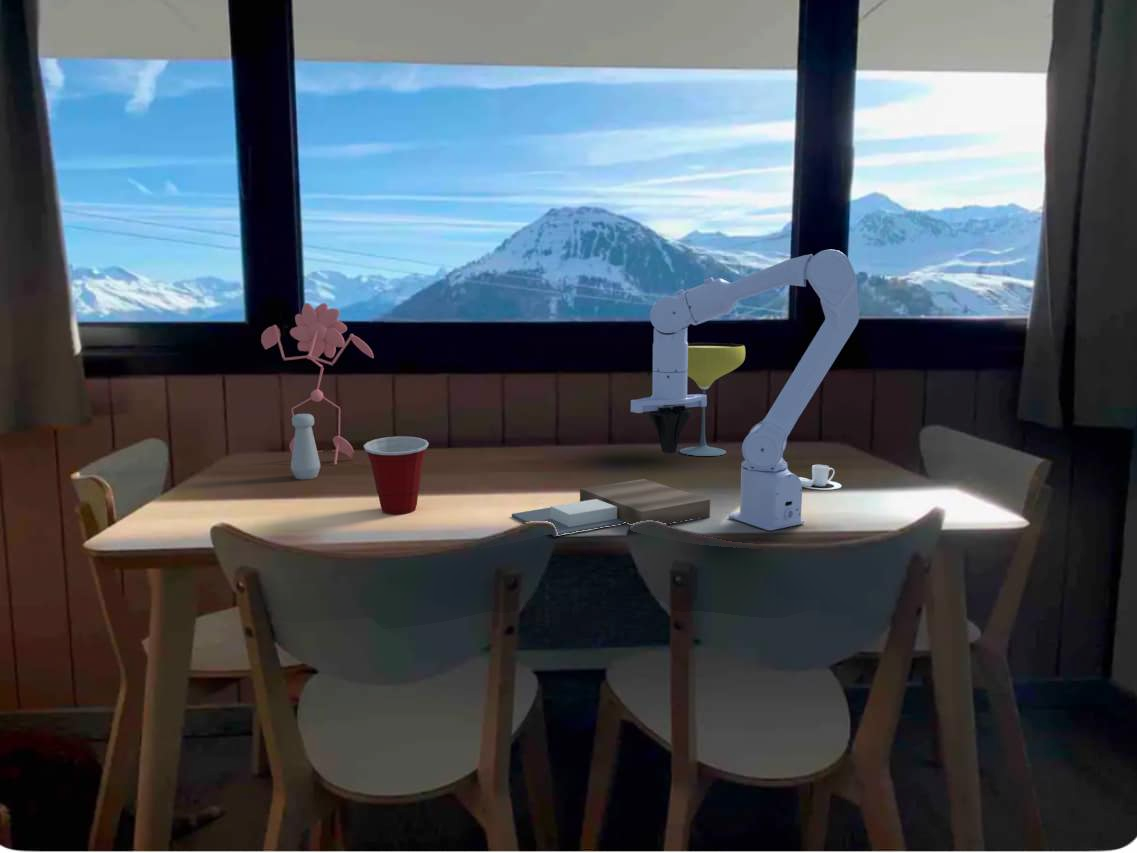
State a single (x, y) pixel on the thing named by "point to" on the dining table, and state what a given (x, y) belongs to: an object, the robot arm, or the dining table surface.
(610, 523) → the mat
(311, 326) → the figurine
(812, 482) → the teacup and saucer
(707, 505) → the deck
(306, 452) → the salt shaker
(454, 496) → the dining table surface
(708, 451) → the cocktail glass
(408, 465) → the plastic cup
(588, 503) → the pale grey flat block
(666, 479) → the dining table surface
